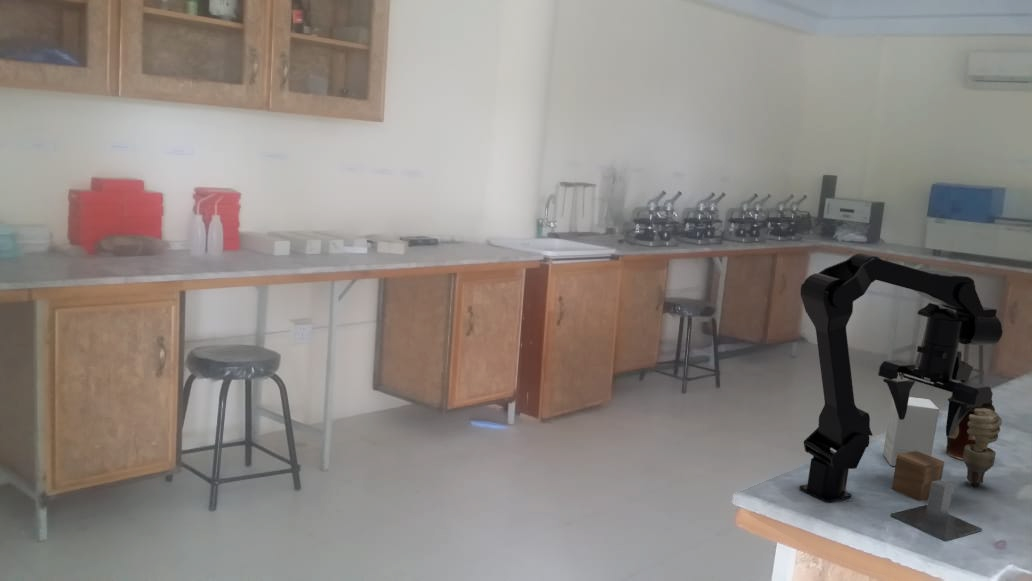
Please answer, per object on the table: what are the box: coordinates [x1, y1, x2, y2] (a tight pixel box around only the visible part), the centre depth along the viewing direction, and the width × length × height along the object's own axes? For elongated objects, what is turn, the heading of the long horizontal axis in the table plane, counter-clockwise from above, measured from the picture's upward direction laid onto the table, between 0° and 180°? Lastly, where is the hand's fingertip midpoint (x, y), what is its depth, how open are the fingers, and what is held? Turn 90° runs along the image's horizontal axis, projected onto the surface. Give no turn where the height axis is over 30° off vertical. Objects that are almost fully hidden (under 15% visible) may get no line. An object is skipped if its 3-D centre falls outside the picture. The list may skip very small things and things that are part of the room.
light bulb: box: [962, 408, 1003, 487], centre depth 166 cm, size 6×6×15 cm
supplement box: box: [882, 396, 940, 467], centre depth 176 cm, size 7×7×13 cm
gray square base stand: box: [889, 479, 983, 542], centre depth 147 cm, size 10×10×7 cm
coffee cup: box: [945, 394, 996, 461], centre depth 183 cm, size 9×8×13 cm
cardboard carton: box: [891, 451, 945, 502], centre depth 160 cm, size 6×6×7 cm
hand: (924, 427), depth 160 cm, fingers open, 9 cm apart
